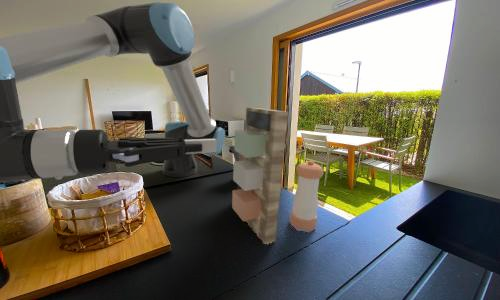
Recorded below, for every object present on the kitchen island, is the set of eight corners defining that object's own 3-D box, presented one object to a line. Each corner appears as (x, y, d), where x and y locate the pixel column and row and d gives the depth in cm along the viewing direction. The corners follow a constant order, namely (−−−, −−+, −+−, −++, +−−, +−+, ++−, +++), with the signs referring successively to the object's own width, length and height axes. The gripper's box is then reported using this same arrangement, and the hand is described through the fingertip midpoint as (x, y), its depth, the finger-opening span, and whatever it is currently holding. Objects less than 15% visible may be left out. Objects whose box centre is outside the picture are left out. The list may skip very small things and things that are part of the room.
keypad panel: (238, 215, 61) (244, 107, 53) (249, 213, 63) (256, 107, 55) (262, 245, 49) (274, 111, 41) (275, 241, 51) (288, 111, 43)
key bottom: (232, 207, 55) (232, 190, 54) (248, 204, 57) (249, 187, 56) (243, 221, 49) (244, 202, 48) (261, 217, 51) (262, 198, 50)
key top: (234, 150, 51) (235, 130, 50) (251, 149, 53) (252, 130, 52) (246, 157, 45) (247, 135, 44) (265, 155, 47) (267, 134, 46)
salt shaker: (314, 235, 54) (325, 167, 50) (287, 228, 56) (295, 162, 52) (316, 221, 61) (325, 159, 56) (291, 215, 63) (298, 155, 59)
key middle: (233, 179, 53) (233, 161, 52) (250, 177, 55) (251, 159, 54) (244, 190, 47) (245, 170, 46) (263, 187, 49) (264, 168, 48)
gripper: (89, 162, 40) (207, 154, 51) (69, 189, 29) (225, 171, 40) (84, 124, 38) (207, 124, 49) (60, 137, 27) (226, 133, 38)
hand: (215, 145), depth 44 cm, fingers closed
